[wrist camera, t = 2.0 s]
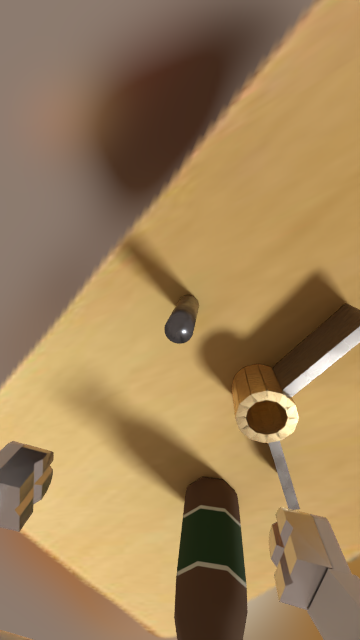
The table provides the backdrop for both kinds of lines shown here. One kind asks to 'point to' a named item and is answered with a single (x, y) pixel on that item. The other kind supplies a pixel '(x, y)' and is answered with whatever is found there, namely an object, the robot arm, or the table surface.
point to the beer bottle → (210, 565)
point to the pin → (182, 320)
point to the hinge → (289, 387)
